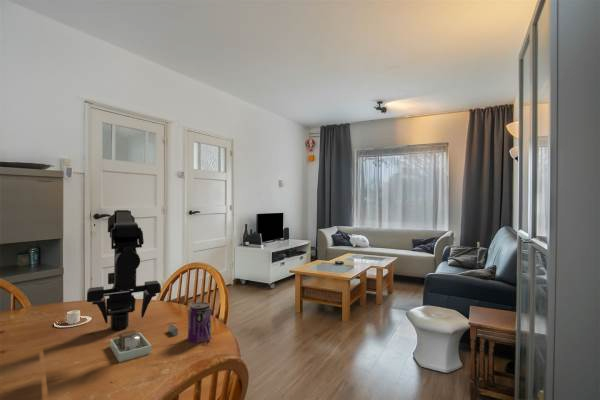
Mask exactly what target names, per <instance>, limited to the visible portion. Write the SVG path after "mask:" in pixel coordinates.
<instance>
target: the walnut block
mask: <svg viewBox="0 0 600 400" xmlns="http://www.w3.org/2000/svg"><path fill="white" fill-rule="evenodd" d="M118 333H119V335H118V337H119V346H120V348H121V349H122V350H123V349H125V337H127V336H129V335H135V334H137V333H138V332H136V330H135V329H129V330H125V331H124V330H123V331H120V332H118Z"/></svg>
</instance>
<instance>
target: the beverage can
mask: <svg viewBox="0 0 600 400" xmlns="http://www.w3.org/2000/svg"><path fill="white" fill-rule="evenodd" d="M187 319H188V321H187V322H188V323H187V325H188V326H187V340H188V342H189V343H194V344H197V343H198V344H199V343H204V342H205V343H206V342H208V341H210V340H211V338H212V336H211V335H212V331H211V328H212V327H211V326H212V309H211V307H210V303H209V302H207V301H198V302H193V303H191V304H190V305H189V309H188V317H187Z"/></svg>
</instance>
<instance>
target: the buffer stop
mask: <svg viewBox="0 0 600 400" xmlns="http://www.w3.org/2000/svg"><path fill="white" fill-rule="evenodd" d="M167 327H168V329H167V330H168V333H170V335H171V336H173V337H175V336H177V335H179V334H178V332H179V331H178V330H179V329H178V327H176V326H175V325H174V324H171V325H170V324H169V325H168V326H167Z"/></svg>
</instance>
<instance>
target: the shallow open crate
mask: <svg viewBox="0 0 600 400" xmlns="http://www.w3.org/2000/svg"><path fill="white" fill-rule="evenodd" d="M136 333H137V335H140V348H138V349H134V350H130V351H126V352H125V349H123V350H122V349H121V348H120V346H119V336H118V337H114V338H110V339H109V341H110V342H109V347H110V349H111V351H112V353H113V354H114V356H115V358H116V359H117V361H118V363H121V362H124V363H125V362H127V361H129V360H132V359H136V358H140V357H143V356H145V357H146V356H147V357H148V356H149V355H150V354H152V353H153V352H152V351H153V349H152V348H153V347H152V344H151V343H150V342H149V341H148V340H147V338H146V337H145V336H144V335H143V334H142V333H141V332H136Z"/></svg>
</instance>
